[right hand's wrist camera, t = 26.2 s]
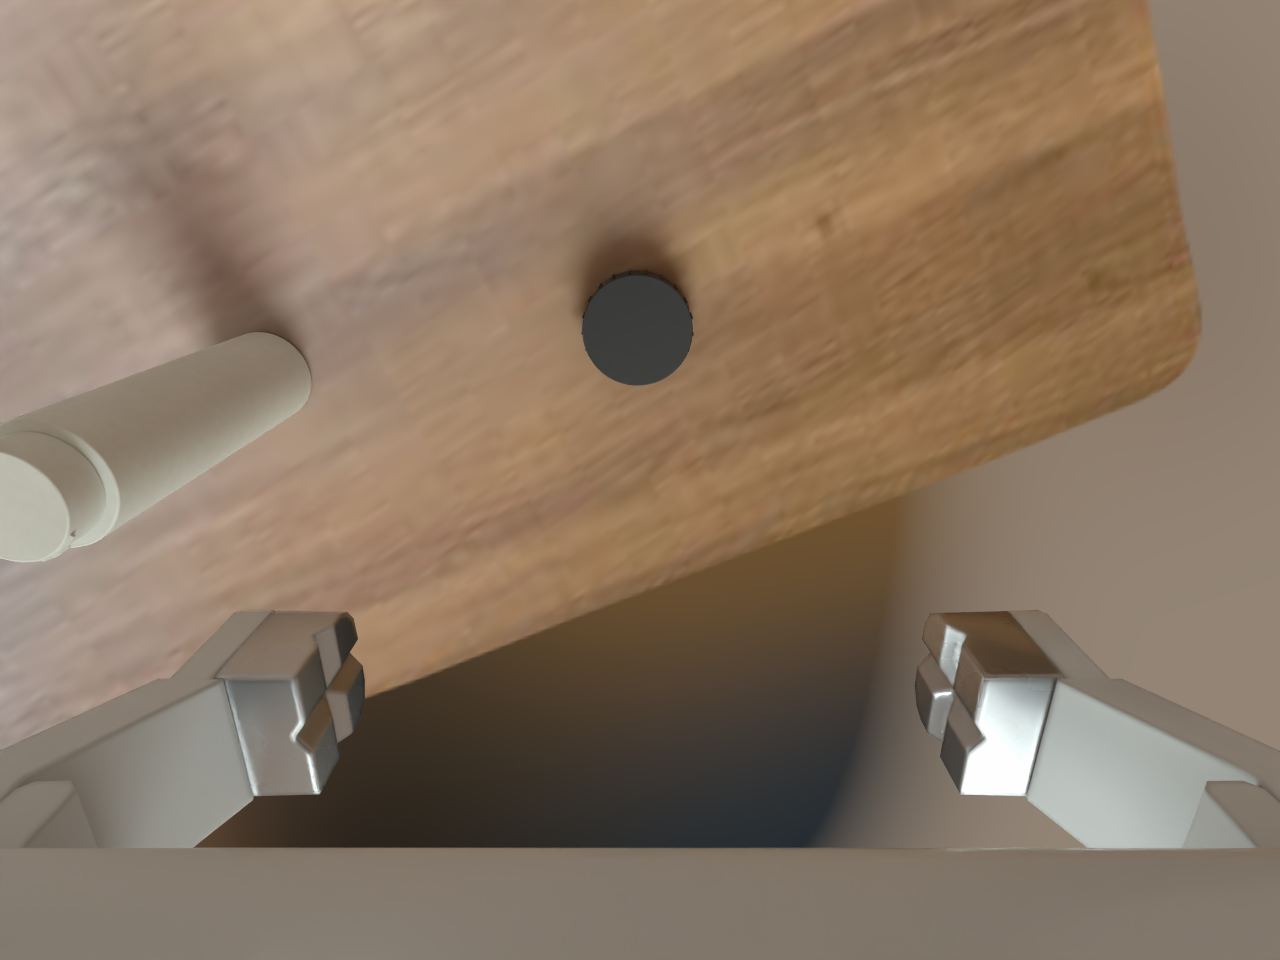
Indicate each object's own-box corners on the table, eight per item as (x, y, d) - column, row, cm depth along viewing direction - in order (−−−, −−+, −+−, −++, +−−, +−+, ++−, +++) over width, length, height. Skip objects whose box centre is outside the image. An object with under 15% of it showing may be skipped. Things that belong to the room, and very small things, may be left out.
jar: (206, 381, 37) (-99, 516, 22) (249, 312, 36) (-43, 405, 20) (284, 434, 38) (45, 599, 23) (328, 370, 37) (106, 499, 22)
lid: (671, 390, 37) (673, 401, 35) (571, 359, 37) (567, 368, 35) (706, 289, 35) (709, 294, 34) (601, 254, 35) (598, 257, 33)
